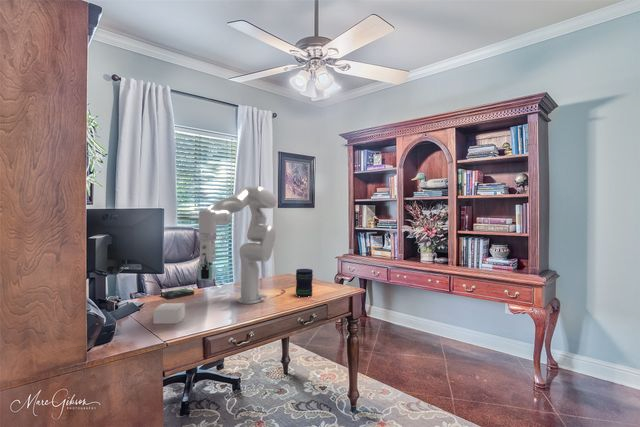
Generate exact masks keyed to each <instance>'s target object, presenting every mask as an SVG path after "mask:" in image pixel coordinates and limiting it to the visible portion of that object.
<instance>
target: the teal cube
mask: <svg viewBox="0 0 640 427" xmlns="http://www.w3.org/2000/svg"><path fill="white" fill-rule="evenodd" d="M206 266H207V264H206ZM197 268H198V269H197V270H198V271H197V272H198V274H197V280H198V281H213V280H214V279H215V278H216V264H214V263H213V264H209V265H208V270H209V278H208V279H201V264H200V265H199V266H198V267H197Z"/></svg>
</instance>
